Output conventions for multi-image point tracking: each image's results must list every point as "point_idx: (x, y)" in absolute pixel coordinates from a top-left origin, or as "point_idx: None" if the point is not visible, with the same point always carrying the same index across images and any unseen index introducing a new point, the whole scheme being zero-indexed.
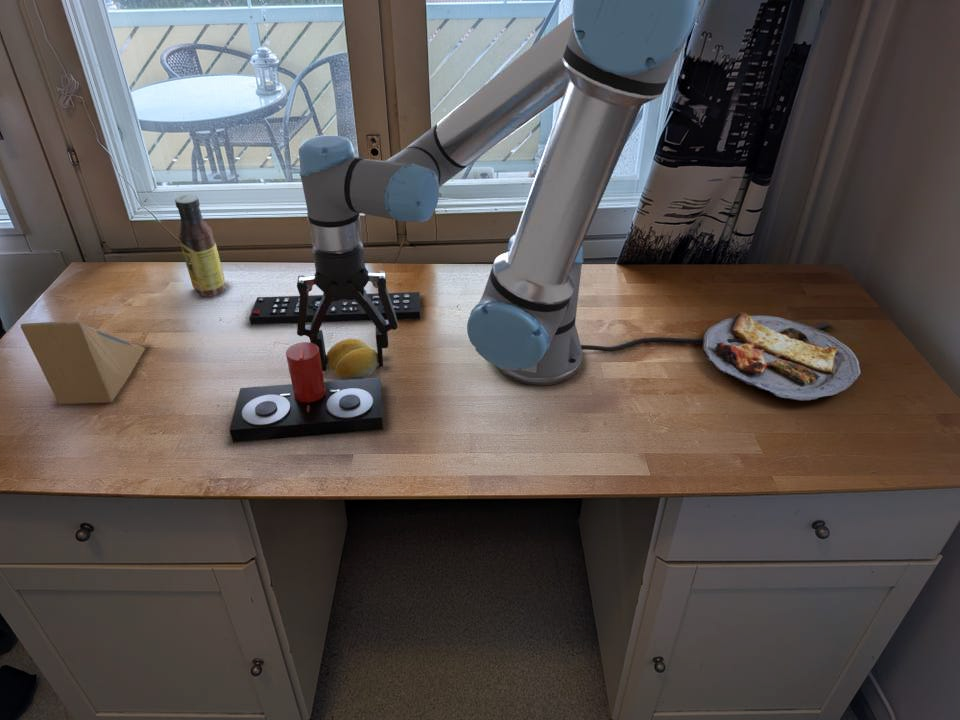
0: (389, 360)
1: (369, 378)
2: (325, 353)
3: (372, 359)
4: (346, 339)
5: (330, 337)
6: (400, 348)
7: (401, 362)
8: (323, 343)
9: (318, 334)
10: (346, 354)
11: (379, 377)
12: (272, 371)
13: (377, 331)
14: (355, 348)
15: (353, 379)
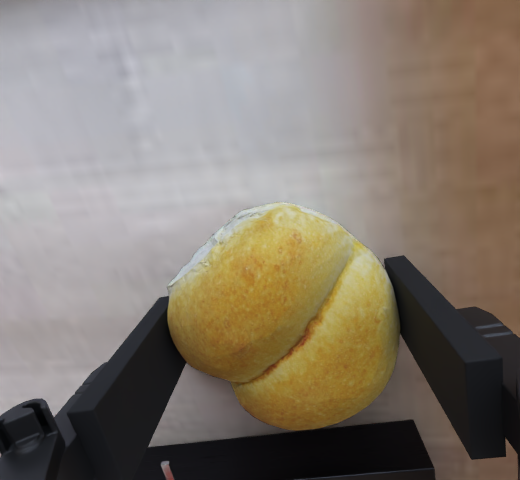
0: (428, 254)
1: (388, 475)
2: (162, 330)
3: (388, 376)
4: (237, 282)
5: (121, 93)
6: (478, 157)
7: (483, 265)
8: (139, 385)
9: (91, 452)
10: (268, 387)
11: (428, 469)
12: (10, 339)
13: (484, 420)
14: (300, 337)
15: (325, 478)
